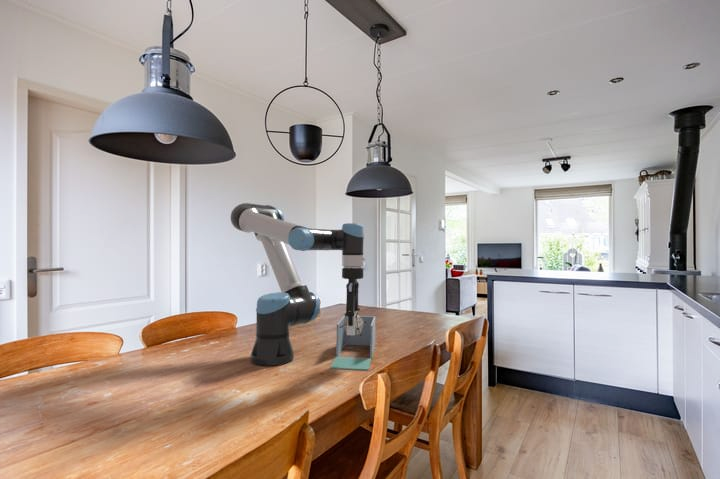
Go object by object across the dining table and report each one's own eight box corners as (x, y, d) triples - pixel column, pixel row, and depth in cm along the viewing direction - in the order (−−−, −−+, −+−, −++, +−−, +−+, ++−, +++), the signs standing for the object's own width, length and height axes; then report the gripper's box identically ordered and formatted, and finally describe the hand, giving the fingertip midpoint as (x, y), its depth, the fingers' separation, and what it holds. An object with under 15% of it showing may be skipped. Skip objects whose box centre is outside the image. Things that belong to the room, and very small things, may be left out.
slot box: (336, 356, 138) (336, 324, 139) (343, 344, 156) (343, 315, 156) (372, 358, 137) (372, 325, 137) (375, 345, 155) (375, 316, 155)
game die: (357, 347, 129) (365, 327, 124) (334, 338, 129) (341, 318, 124) (363, 330, 136) (371, 310, 131) (342, 322, 137) (348, 302, 132)
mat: (330, 368, 125) (330, 367, 125) (336, 357, 137) (336, 356, 137) (368, 370, 124) (368, 369, 124) (371, 359, 136) (371, 358, 136)
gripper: (360, 269, 120) (359, 339, 119) (366, 265, 141) (365, 326, 140) (337, 268, 121) (336, 339, 120) (346, 265, 141) (346, 325, 141)
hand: (352, 332), depth 130 cm, fingers closed on game die, 8 cm apart
